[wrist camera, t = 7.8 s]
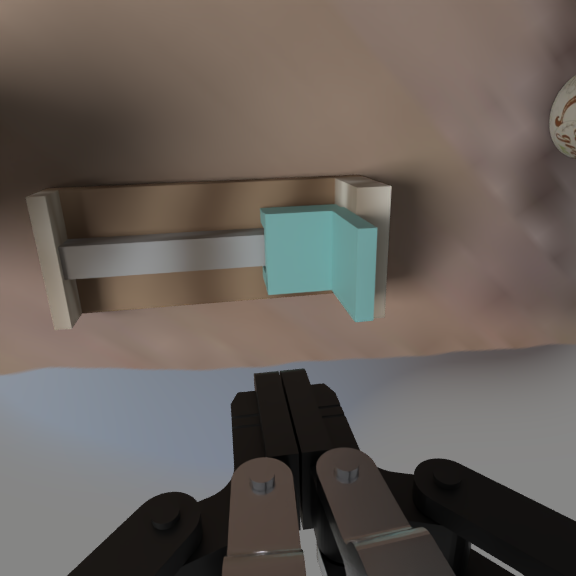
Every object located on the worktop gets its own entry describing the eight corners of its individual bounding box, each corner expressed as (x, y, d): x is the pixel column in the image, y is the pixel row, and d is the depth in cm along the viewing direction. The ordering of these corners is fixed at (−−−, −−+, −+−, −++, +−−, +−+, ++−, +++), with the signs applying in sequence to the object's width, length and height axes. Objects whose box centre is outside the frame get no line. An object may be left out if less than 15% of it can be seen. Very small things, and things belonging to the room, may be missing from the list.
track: (358, 174, 31) (391, 186, 26) (355, 285, 34) (384, 317, 28) (47, 188, 28) (7, 204, 23) (71, 307, 31) (40, 348, 25)
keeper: (335, 201, 30) (377, 227, 23) (334, 274, 32) (373, 320, 24) (259, 205, 29) (276, 233, 22) (263, 279, 31) (280, 328, 24)
